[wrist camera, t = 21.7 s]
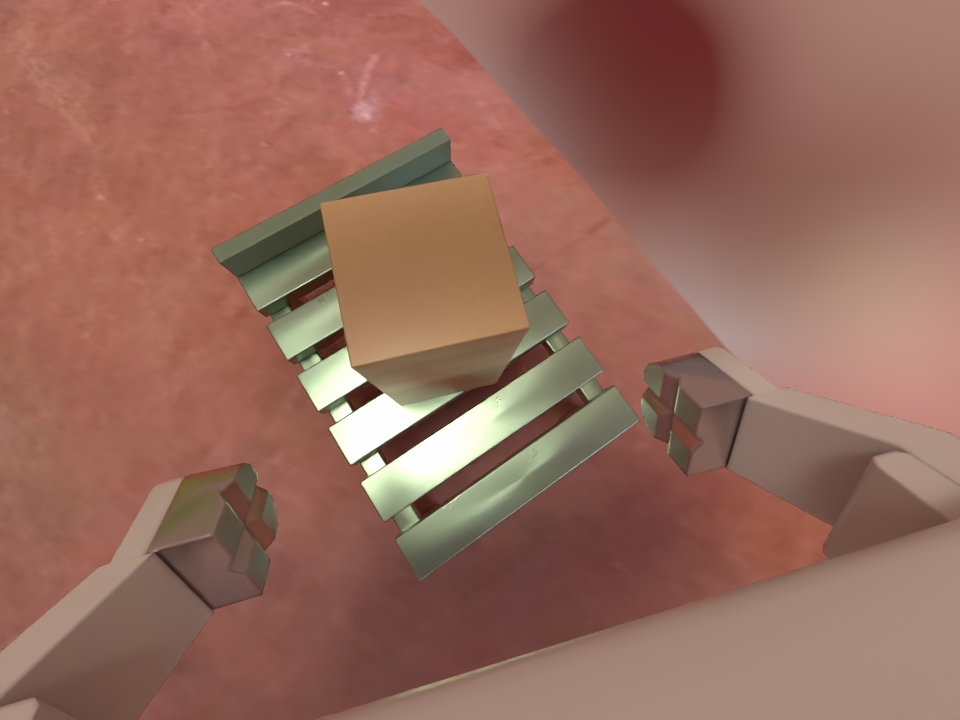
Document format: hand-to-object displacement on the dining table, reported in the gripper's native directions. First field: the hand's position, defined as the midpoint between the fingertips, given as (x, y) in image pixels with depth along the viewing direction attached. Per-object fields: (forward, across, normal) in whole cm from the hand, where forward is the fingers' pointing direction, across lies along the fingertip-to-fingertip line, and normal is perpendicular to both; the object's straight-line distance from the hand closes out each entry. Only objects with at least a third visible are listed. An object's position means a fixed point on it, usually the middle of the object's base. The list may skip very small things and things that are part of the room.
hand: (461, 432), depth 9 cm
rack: (+14, 0, +8) cm, 17 cm away
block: (+10, 0, +4) cm, 11 cm away
